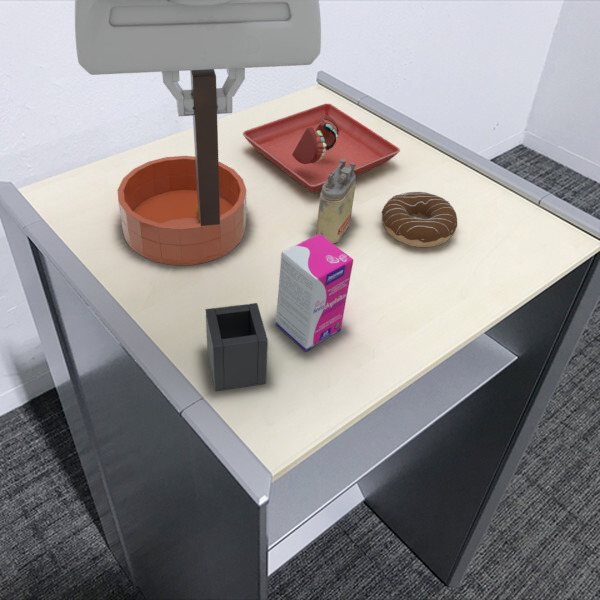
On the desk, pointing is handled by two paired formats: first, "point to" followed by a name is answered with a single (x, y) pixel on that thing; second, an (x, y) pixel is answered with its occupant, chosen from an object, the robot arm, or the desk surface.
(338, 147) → the red square tray
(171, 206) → the bowl
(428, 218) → the donut
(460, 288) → the desk surface
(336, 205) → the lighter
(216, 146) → the stick
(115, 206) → the desk surface
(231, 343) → the holder
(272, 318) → the desk surface
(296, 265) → the supplement box
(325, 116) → the dental model
